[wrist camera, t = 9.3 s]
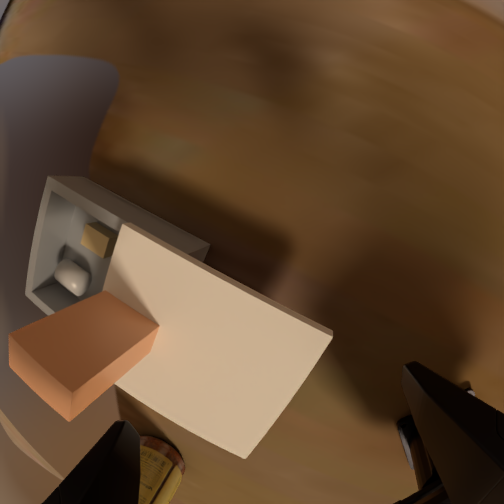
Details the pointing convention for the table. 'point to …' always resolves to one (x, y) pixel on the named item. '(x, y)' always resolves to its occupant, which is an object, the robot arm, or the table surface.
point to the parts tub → (86, 240)
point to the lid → (173, 345)
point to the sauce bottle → (158, 471)
